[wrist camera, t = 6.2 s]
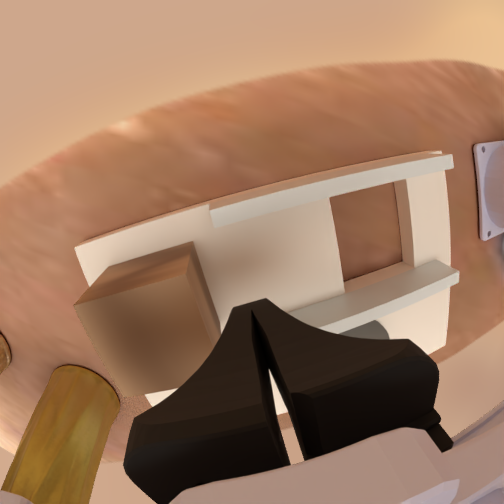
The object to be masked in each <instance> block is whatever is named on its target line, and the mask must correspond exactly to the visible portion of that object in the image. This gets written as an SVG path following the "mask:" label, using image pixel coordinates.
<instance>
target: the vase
mask: <svg viewBox="0 0 504 504" xmlns="http://www.w3.org/2000/svg"><path fill="white" fill-rule="evenodd" d="M119 409H120V403H119V400H118V397H117V395H116V393H115V391H114V390H113V388H112V387H111V386H110V385H109V384H108V383H107V382H106V381H105V380H104V379H103V378H102V377H100V376H99V375H97V374H95V373H94V372H92V371H90V370H88V369H85V368H82V367H78V366H71V365H67V366H62V367H59V368H57V369H56V370H55V371H54V372H53V373H52V375H51V377H50V380H49V383H48V385H47V387H46V389H45V391H44V393H43V395H42V397H41V398H40V400H39V402H38V404H37V406H36V408H35V410H34V412H33V414H32V417H31V419H30V421H29V423H28V426H27V428H26V430H25V432H24V434H23V436H22V439H21V441H20V444H19V446H18V449H17V451H16V454H15V457H14V460H13V462H12V464H11V466H10V468H9V471H8V473H7V475H6V478H5V480H4V483H3V486H2V488H1V490H3V491H6V492H10V493H13V494H17V495H20V496H22V497H24V498H26V499H28V500H29V501H30V502H32V503H33V504H89V500H90V497H91V493H92V489H93V485H94V481H95V477H96V473H97V470H98V467H99V464H100V461H101V457H102V454H103V451H104V448H105V444H106V441H107V438H108V435H109V431H110V428H111V426H112V424H113V422H114V420H115V418H116V417H117V415H118V413H119Z"/></svg>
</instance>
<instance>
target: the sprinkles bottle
mask: <svg viewBox="0 0 504 504" xmlns="http://www.w3.org/2000/svg"><path fill="white" fill-rule="evenodd" d="M10 360H11V355H10V350H9V347H8V345H7V343H6V341H5V339H4V338H3V337H2V335H1V334H0V374H1V373H2V372H3V370H4V369H6V368H7V367H8V366H9V364H10Z"/></svg>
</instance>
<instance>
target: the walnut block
mask: <svg viewBox="0 0 504 504" xmlns="http://www.w3.org/2000/svg"><path fill="white" fill-rule="evenodd" d="M74 308H75V310H76V313H77V315H78V317H79V319H80V321H81V323H82V325H83V327H84V329H85V331H86V333H87V335H88V337H89V339H90V341H91V342H92V344H93V346H94V348H95V350H96V352H97V353H98V355H99V357H100V359H101V361H102V362H103V364H104V366H105V368H106V369H107V371H108V373H109V374H110V376H111V378H112V379H113V381H114V383H115V384H116V386H117V387H118V389H119V391H120V392H121V394H122V395H123V397H124V398H125V397H132V396H138V395H144V394H150V393H156V392H161V391H167V390H172V389H177V388H179V387H180V386H182V385H183V384H184V383H185V382H186V381H187V380H188V379H189V378H190V377H191V376H192V375H193V374H194V373H195V372H196V371H197V370H198V369H199V367H200V366H201V365H202V364H203V362H204V361H205V360H206V359H207V357H208V356H209V355H210V353H211V352H212V350H213V348H214V346H215V345H216V343H217V341H218V340H219V338H220V336H221V326H220V321H219V318H218V315H217V312H216V309H215V306H214V303H213V300H212V298H211V295H210V292H209V289H208V286H207V283H206V280H205V277H204V274H203V271H202V267H201V264H200V261H199V258H198V255H197V252H196V249H195V246H194V242H193V241H191V242H187V243H184V244H181V245H177V246H174V247H170V248H167V249H164V250H160V251H157V252H154V253H151V254H147V255H144V256H141V257H137V258H134V259H131V260H128V261H124V262H121V263H118V264H115V265H112V266H108V267H107V268H106V269H105V271H104V272H103V273H102V274H101V275H100V276H99V277H98V278H97V279H96V280H95V282H94V283H93V284H92V285H91V286H90V287H89V288H88V289H87V291H86V292H85V293H84V294H83V295H82V296H81V297H80V299H79V300H78V301H77V302H76V303H75V304H74Z"/></svg>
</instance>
